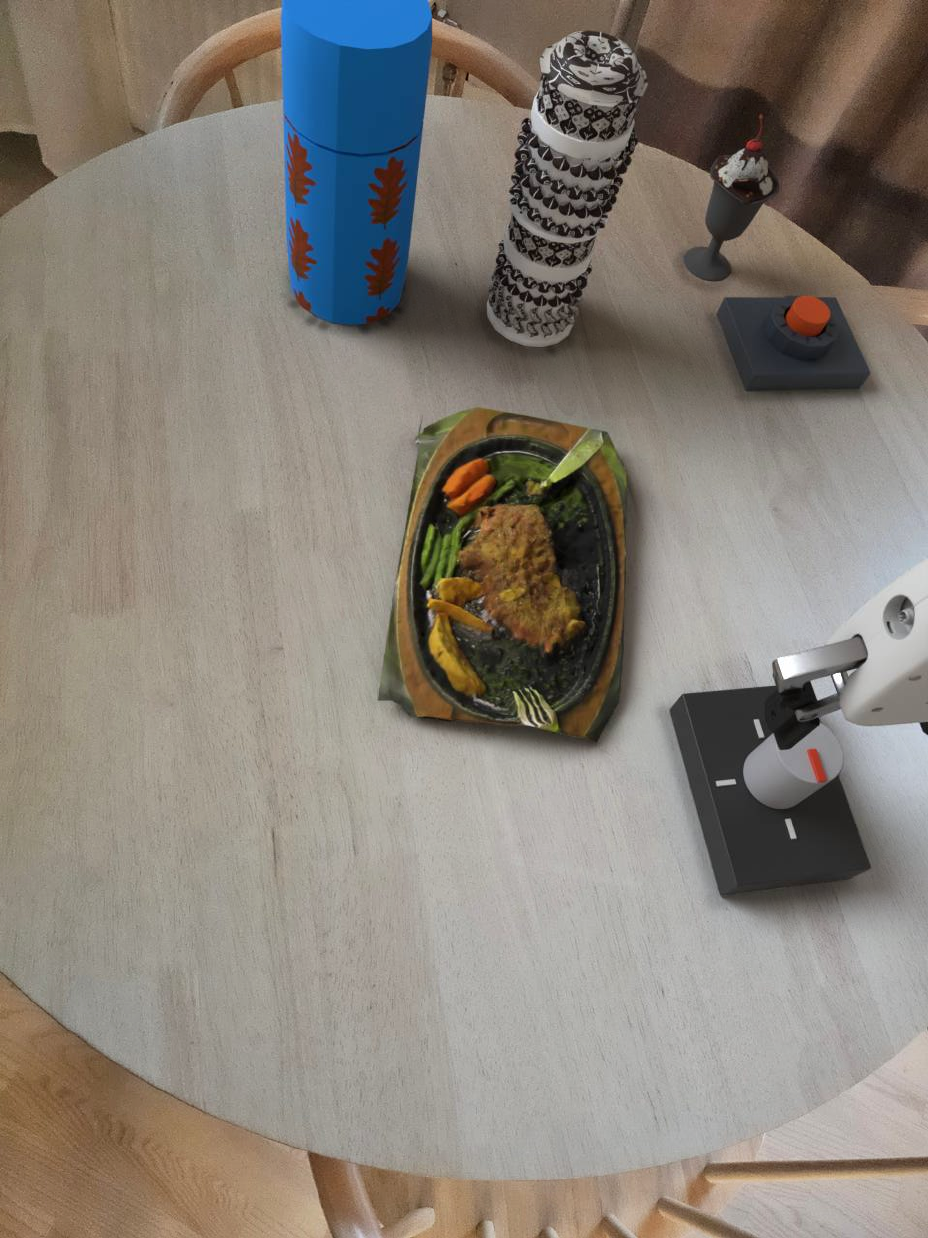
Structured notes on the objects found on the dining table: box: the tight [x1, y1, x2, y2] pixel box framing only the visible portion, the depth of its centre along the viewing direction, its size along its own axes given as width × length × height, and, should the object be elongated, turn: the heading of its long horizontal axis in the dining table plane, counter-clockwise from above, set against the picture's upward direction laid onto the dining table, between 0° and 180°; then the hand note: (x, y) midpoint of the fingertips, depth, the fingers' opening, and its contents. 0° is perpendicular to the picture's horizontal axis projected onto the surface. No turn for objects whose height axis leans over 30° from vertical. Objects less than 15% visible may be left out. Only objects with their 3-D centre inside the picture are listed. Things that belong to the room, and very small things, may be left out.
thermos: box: [280, 0, 433, 326], centre depth 77 cm, size 11×11×25 cm
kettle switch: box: [786, 295, 830, 337], centre depth 89 cm, size 4×4×2 cm
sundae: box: [683, 113, 780, 282], centre depth 90 cm, size 7×7×15 cm
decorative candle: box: [486, 29, 649, 348], centre depth 79 cm, size 9×9×25 cm
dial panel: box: [669, 685, 872, 897], centre depth 68 cm, size 14×10×3 cm
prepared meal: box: [377, 406, 628, 744], centre depth 74 cm, size 28×4×18 cm
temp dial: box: [743, 722, 844, 809], centre depth 64 cm, size 5×5×6 cm
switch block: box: [716, 295, 872, 392], centre depth 91 cm, size 12×10×4 cm
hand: (849, 719), depth 57 cm, fingers open, 9 cm apart
